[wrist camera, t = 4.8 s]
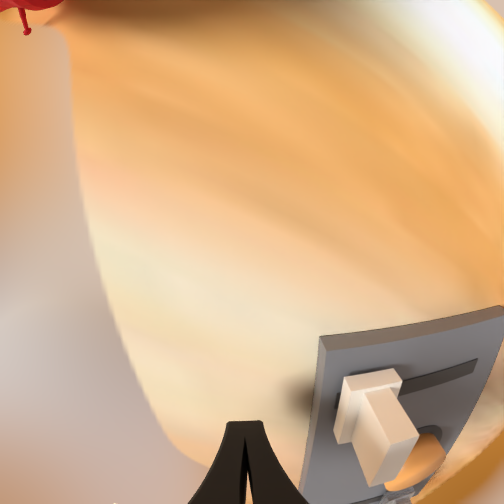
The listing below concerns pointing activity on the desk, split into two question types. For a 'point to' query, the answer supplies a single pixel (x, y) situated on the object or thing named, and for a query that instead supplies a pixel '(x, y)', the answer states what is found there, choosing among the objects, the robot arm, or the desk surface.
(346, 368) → the panel
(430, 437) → the push button
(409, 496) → the grey slider knob
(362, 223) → the desk surface
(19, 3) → the alarm clock
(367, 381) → the toggle lever
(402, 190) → the desk surface
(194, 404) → the desk surface
